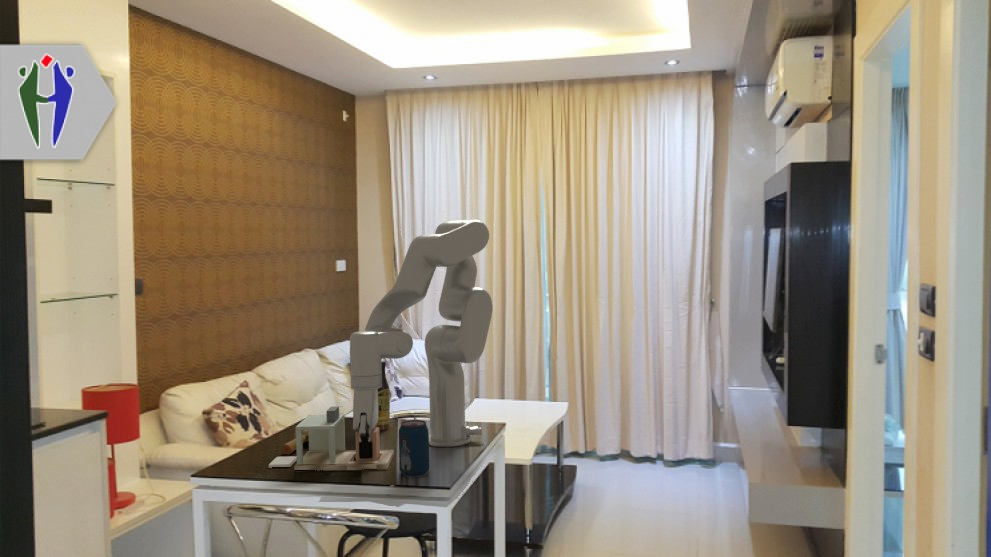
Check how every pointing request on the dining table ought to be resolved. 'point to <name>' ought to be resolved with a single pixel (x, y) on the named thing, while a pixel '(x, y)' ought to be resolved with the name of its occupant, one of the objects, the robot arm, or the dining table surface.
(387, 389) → the sauce bottle
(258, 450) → the dining table surface
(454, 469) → the dining table surface
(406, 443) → the soda can
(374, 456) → the block
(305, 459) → the puzzle board
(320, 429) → the pale green table stand
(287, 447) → the kendama
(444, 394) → the robot arm
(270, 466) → the ceramic trivet
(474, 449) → the dining table surface
